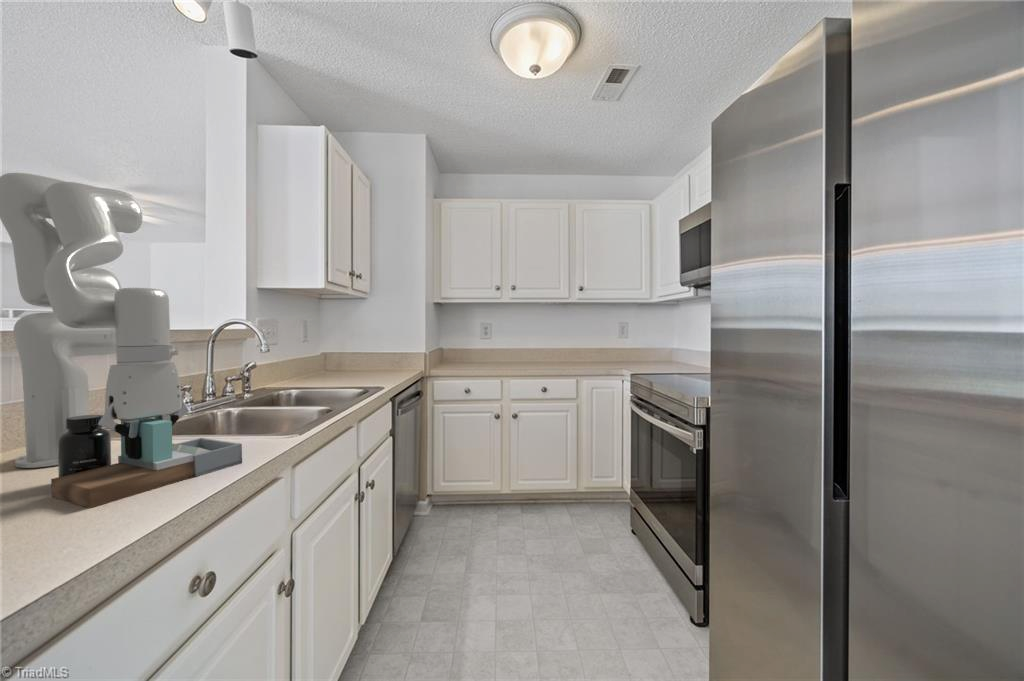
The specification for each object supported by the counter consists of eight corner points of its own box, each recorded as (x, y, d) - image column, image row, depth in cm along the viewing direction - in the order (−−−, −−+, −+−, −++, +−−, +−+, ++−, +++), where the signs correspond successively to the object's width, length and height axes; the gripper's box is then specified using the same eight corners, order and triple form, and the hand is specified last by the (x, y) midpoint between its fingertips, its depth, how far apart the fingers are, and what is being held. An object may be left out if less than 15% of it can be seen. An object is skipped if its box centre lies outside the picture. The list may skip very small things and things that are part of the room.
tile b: (175, 457, 82) (182, 444, 83) (200, 463, 86) (206, 450, 87) (192, 460, 80) (198, 447, 81) (216, 466, 84) (222, 453, 85)
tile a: (158, 454, 84) (164, 442, 85) (182, 459, 88) (188, 448, 89) (173, 457, 82) (179, 444, 83) (198, 462, 86) (203, 450, 87)
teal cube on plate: (118, 462, 79) (117, 419, 79) (155, 454, 84) (155, 414, 84) (156, 470, 74) (156, 424, 74) (193, 460, 80) (193, 418, 80)
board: (51, 496, 71) (51, 479, 71) (156, 468, 85) (155, 454, 84) (90, 508, 66) (89, 489, 66) (194, 476, 80) (193, 460, 80)
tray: (154, 468, 85) (154, 448, 85) (202, 455, 93) (201, 437, 93) (195, 476, 80) (195, 455, 80) (242, 462, 88) (241, 443, 88)
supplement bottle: (78, 489, 74) (75, 421, 73) (48, 487, 75) (45, 420, 75) (121, 476, 80) (119, 413, 80) (93, 474, 82) (91, 412, 82)
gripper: (182, 353, 87) (185, 442, 87) (73, 358, 72) (78, 466, 72) (205, 353, 84) (208, 445, 84) (96, 359, 69) (100, 471, 69)
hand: (148, 454), depth 78 cm, fingers open, 3 cm apart
